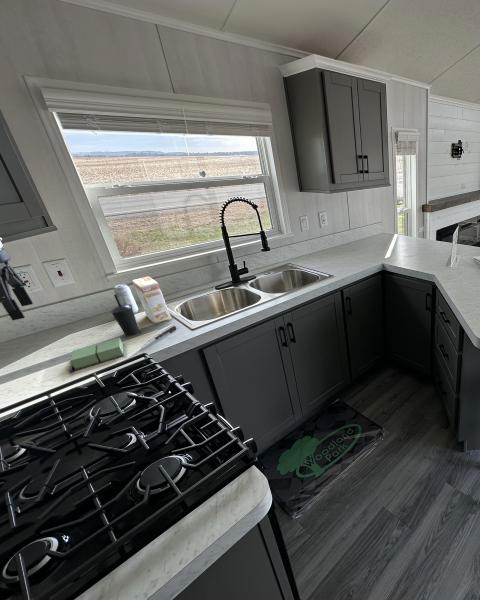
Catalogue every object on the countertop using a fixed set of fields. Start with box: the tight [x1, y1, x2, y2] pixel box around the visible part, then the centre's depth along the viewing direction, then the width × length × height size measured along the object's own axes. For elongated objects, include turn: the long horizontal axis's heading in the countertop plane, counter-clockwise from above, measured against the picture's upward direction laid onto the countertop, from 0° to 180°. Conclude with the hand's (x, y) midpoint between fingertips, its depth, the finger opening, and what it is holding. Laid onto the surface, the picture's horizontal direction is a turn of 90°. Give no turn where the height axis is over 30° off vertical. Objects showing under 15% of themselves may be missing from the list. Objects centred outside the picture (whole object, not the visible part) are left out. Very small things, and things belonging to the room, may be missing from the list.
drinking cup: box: [109, 294, 140, 337], centre depth 142 cm, size 8×8×20 cm
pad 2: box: [97, 337, 124, 362], centre depth 131 cm, size 7×9×4 cm
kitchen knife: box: [141, 325, 177, 349], centre depth 142 cm, size 18×1×2 cm, turn 169°
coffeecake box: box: [131, 275, 172, 324], centre depth 157 cm, size 15×7×20 cm, turn 49°
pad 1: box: [70, 343, 100, 369], centre depth 127 cm, size 7×9×4 cm
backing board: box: [68, 343, 125, 374], centre depth 129 cm, size 16×12×2 cm
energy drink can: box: [113, 283, 139, 314], centre depth 164 cm, size 6×6×15 cm
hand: (23, 311), depth 110 cm, fingers open, 13 cm apart
